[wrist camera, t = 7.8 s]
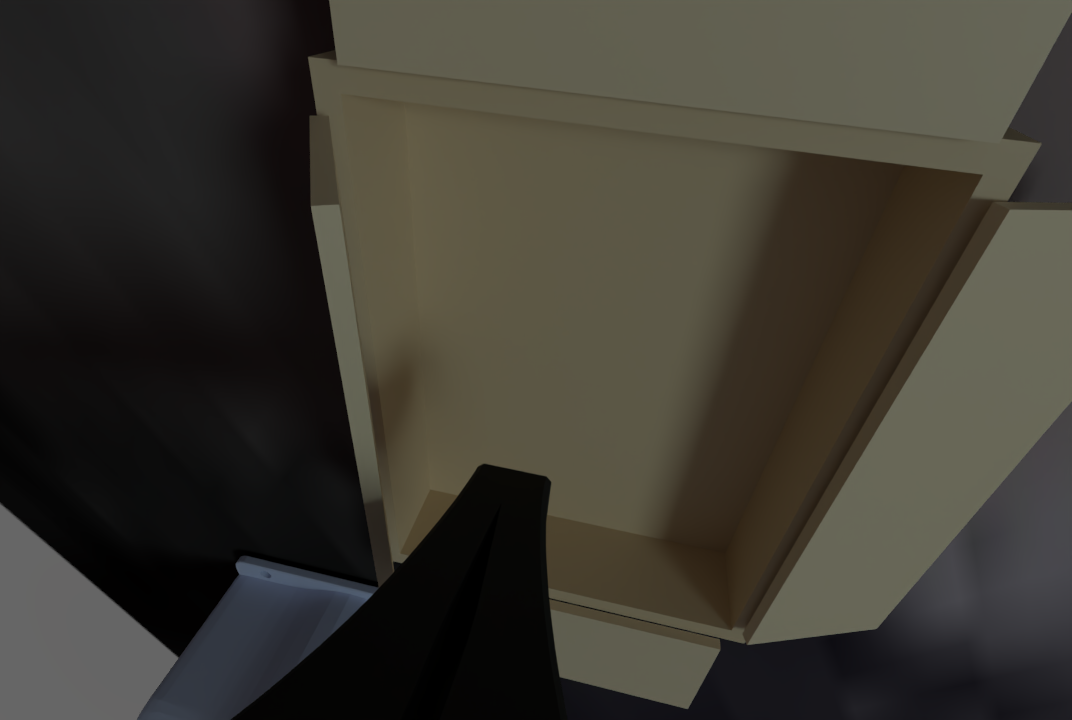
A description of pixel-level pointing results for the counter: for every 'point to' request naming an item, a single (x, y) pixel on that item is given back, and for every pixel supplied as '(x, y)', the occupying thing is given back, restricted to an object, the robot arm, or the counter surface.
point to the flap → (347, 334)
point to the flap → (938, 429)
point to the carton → (657, 269)
